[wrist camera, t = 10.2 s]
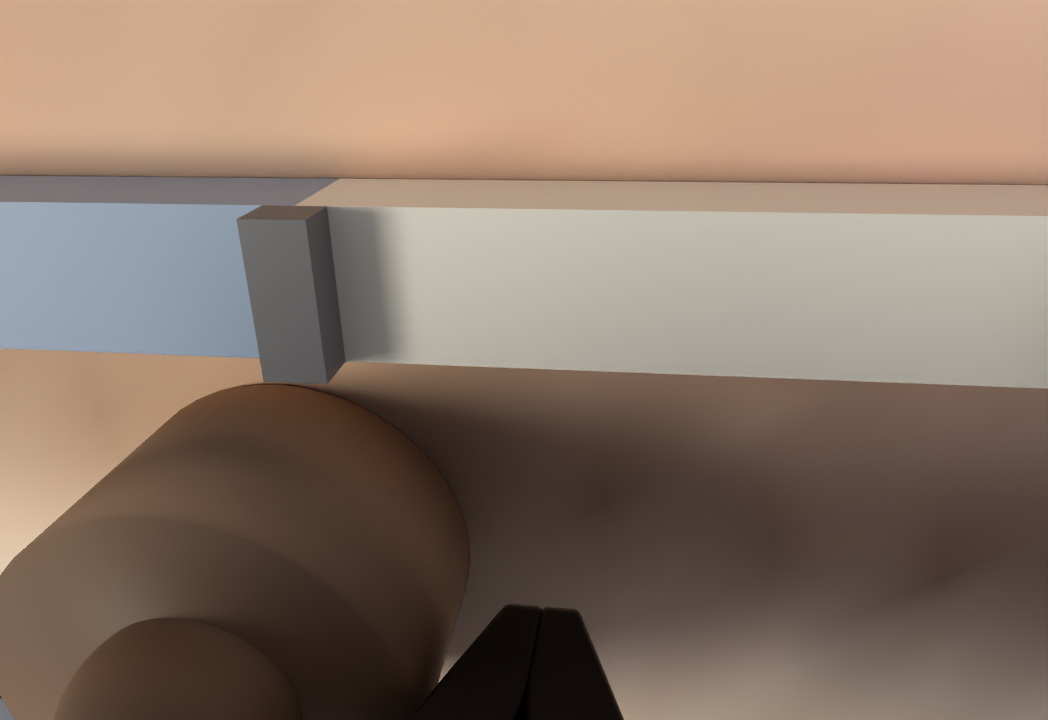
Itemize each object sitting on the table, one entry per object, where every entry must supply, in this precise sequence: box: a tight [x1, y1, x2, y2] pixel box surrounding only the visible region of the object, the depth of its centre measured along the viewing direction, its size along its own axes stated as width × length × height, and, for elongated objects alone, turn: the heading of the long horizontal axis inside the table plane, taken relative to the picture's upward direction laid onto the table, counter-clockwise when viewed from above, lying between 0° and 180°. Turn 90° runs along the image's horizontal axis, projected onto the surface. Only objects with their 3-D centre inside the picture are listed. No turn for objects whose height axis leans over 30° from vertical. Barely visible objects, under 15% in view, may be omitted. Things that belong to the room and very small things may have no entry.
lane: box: [0, 175, 1048, 720], centre depth 9 cm, size 10×21×2 cm, turn 91°
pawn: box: [0, 385, 470, 720], centre depth 8 cm, size 4×4×4 cm
